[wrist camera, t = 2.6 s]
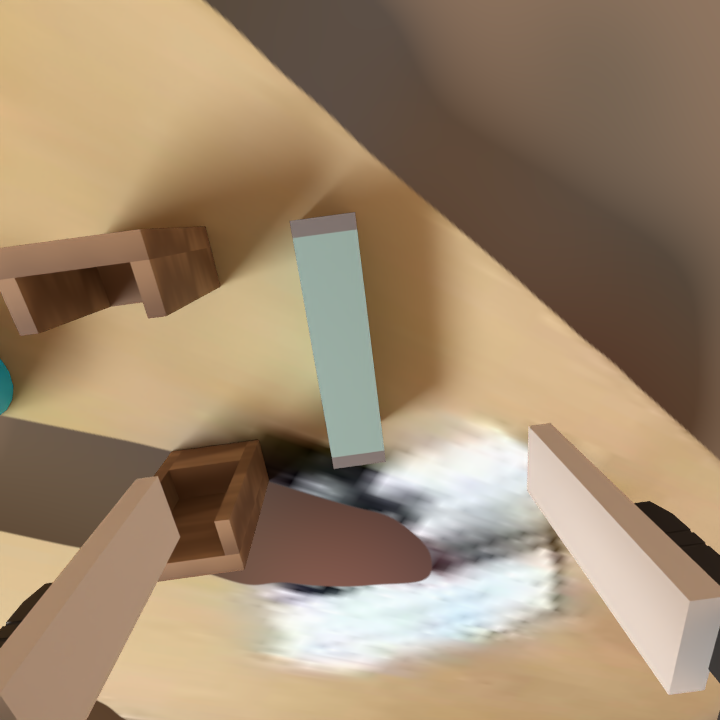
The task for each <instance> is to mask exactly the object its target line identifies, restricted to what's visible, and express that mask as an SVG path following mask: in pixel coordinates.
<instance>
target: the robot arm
mask: <svg viewBox="0 0 720 720" xmlns="http://www.w3.org/2000/svg"><path fill="white" fill-rule="evenodd" d="M527 491H528V493H529V494H530V495H531V497H532V498H533V500H534V501H535V503H536V504H537V506H538V507H539V508H540V510H541V511H542V513H543V514H544V516H545V517H546V519H547V520H548V521H549V523H550V524H551V526H552V527H553V529H554V530H555V531H556V533H557V534H558V536H559V537H560V539H561V540H562V542H563V543H564V544H565V546H566V547H567V549H568V550H569V552H570V553H571V555H572V556H573V557H574V559H575V560H576V562H577V563H578V565H579V566H580V568H581V569H582V570H583V572H584V573H585V575H586V576H587V578H588V579H589V581H590V582H591V583H592V585H593V586H594V588H595V589H596V591H597V592H598V594H599V595H600V596H601V598H602V599H603V601H604V602H605V604H606V605H607V607H608V608H609V609H610V611H611V612H612V614H613V615H614V617H615V618H616V620H617V621H618V622H619V624H620V625H621V627H622V628H623V630H624V631H625V633H626V634H627V635H628V637H629V638H630V640H631V641H632V643H633V644H634V645H635V647H636V648H637V650H638V651H639V653H640V654H641V656H642V657H643V658H644V660H645V661H646V663H647V664H648V666H649V667H650V669H651V670H652V671H653V673H654V674H655V676H656V677H657V679H658V680H659V682H660V683H661V684H662V686H663V687H664V689H665V690H666V692H667V693H668V695H671V694H679V693H686V692H694V691H701V690H705V686H706V683H707V679H708V675H709V672H711V673H712V674H713V675H714V677H715V678H716V679H717V680H718V682H719V683H720V555H719V554H718V553H717V552H715V551H714V550H713V549H712V548H711V547H710V546H706V544H705V542H704V541H703V540H702V539H701V538H700V537H698V536H697V535H696V534H695V533H694V532H693V533H692V532H691V531H690V529H689V528H688V527H687V526H686V525H685V524H684V523H682V522H681V521H680V520H679V519H678V518H677V517H676V516H675V515H673V514H672V513H670V512H669V511H667V510H665V509H663V508H661V507H659V506H658V505H656V504H654V503H652V502H650V501H647V502H640V503H633V502H632V501H631V500H630V499H629V498H628V497H627V496H626V495H625V494H624V493H623V492H622V491H620V490H619V489H618V488H617V487H616V486H615V485H614V484H613V483H612V482H611V481H610V480H609V479H608V478H607V477H606V476H605V475H604V474H603V473H602V472H601V471H600V470H599V469H598V468H596V467H595V466H594V465H593V464H592V463H591V462H590V461H589V460H588V459H587V458H586V457H585V456H584V455H583V454H582V453H581V452H580V451H579V450H578V449H577V448H576V447H575V446H574V445H573V444H571V443H570V442H569V441H568V440H567V439H566V438H565V437H564V436H563V435H562V434H561V433H560V432H559V431H558V430H557V429H556V428H555V427H554V426H553V425H552V424H551V423H548V424H541V425H534V426H529V434H528V474H527ZM179 539H180V535H179V533H178V530H177V527H176V524H175V522H174V519H173V516H172V513H171V511H170V508H169V505H168V502H167V500H166V497H165V494H164V491H163V489H162V486H161V483H160V481H159V478H158V476H155V477H148V478H140V479H136V480H135V481H134V483H133V484H132V485H131V486H130V487H129V489H128V490H127V491H126V493H125V494H124V495H123V496H122V498H121V499H120V500H119V501H118V502H117V504H116V505H115V506H114V508H113V509H112V510H111V511H110V512H109V514H108V515H107V516H106V517H105V519H104V520H103V521H102V522H101V524H100V525H99V526H98V527H97V529H96V530H95V531H94V532H93V533H92V535H91V536H90V537H89V539H88V540H87V541H86V542H85V543H84V545H83V546H82V547H81V548H80V550H79V551H78V552H77V553H76V555H75V556H74V557H73V558H72V560H71V561H70V562H69V563H68V565H67V566H66V567H65V568H64V570H63V571H62V572H61V573H60V575H59V576H58V577H57V578H56V580H55V581H54V582H53V583H47V584H44V585H43V586H42V587H41V588H40V589H38V590H37V591H36V592H35V593H34V594H32V595H31V596H30V597H29V598H28V599H26V600H25V601H24V602H23V603H22V604H21V605H20V607H19V608H18V609H17V610H16V611H15V613H14V614H13V615H12V616H11V617H10V618H9V620H8V621H7V622H6V626H3V627H2V628H1V629H0V720H86V719H87V717H88V715H89V713H90V711H91V709H92V708H93V706H94V703H95V702H96V700H97V698H98V696H99V694H100V692H101V690H102V688H103V686H104V684H105V682H106V680H107V678H108V676H109V675H110V673H111V671H112V669H113V667H114V665H115V663H116V661H117V659H118V657H119V655H120V653H121V651H122V649H123V647H124V645H125V643H126V641H127V640H128V638H129V636H130V634H131V632H132V630H133V628H134V626H135V624H136V622H137V620H138V618H139V616H140V614H141V612H142V610H143V608H144V607H145V605H146V603H147V601H148V599H149V597H150V595H151V593H152V591H153V589H154V587H155V585H156V583H157V581H158V579H159V577H160V575H161V574H162V572H163V570H164V568H165V566H166V564H167V562H168V560H169V558H170V556H171V554H172V552H173V550H174V548H175V546H176V544H177V542H178V540H179ZM717 720H720V712H719V715H718V719H717Z"/></svg>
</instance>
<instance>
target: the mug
mask: <svg viewBox="0 0 720 720" xmlns="http://www.w3.org/2000/svg"><path fill="white" fill-rule="evenodd" d="M12 398H13V383H12V380H11V376H10V373H9V371H8V369H7V368H6V366H5V365H4V363H3V362H2V360H1V359H0V415H1V414H2V413H3V412H5V411H6V410H7V408H8V406H9V405H10V403H11V401H12Z"/></svg>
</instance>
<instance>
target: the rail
mask: <svg viewBox="0 0 720 720" xmlns="http://www.w3.org/2000/svg"><path fill="white" fill-rule="evenodd" d="M290 226H291V232H292V237H293V243H294V248H295V254H296V260H297V265H298V271H299V276H300V282H301V288H302V293H303V299H304V304H305V310H306V316H307V321H308V327H309V332H310V338H311V343H312V349H313V355H314V360H315V366H316V371H317V377H318V383H319V388H320V394H321V399H322V405H323V411H324V416H325V422H326V427H327V433H328V438H329V444H330V450H331V455H332V461H333V466H334V469H335V468H343V467H350V466H357V465H365V464H372V463H379V462H386V461H385V453H384V444H383V436H382V428H381V420H380V412H379V404H378V396H377V388H376V379H375V371H374V363H373V355H372V347H371V339H370V331H369V322H368V314H367V306H366V298H365V290H364V282H363V274H362V266H361V257H360V249H359V241H358V233H357V225H356V217H355V212H353V213H345V214H338V215H330V216H323V217H316V218H308V219H301V220H294V221H290Z"/></svg>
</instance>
